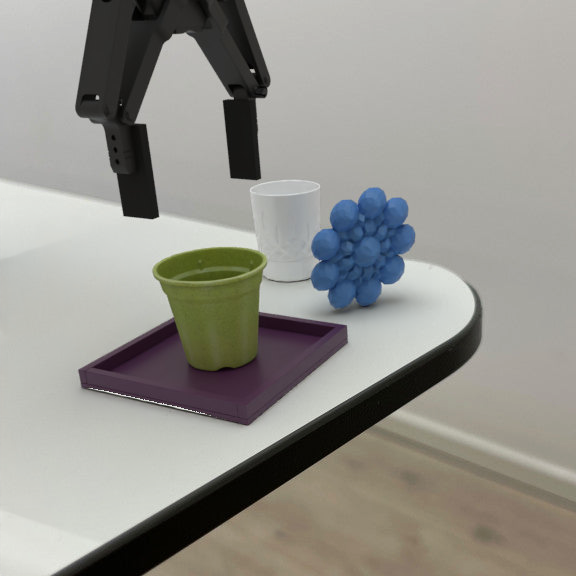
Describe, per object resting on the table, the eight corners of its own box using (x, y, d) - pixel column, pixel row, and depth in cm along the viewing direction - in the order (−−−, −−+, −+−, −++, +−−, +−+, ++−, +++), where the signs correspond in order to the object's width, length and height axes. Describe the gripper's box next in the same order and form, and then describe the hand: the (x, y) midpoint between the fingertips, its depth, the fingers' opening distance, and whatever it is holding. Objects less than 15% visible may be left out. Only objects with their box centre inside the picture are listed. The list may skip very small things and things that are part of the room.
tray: (81, 387, 64) (77, 369, 63) (201, 318, 77) (199, 302, 77) (248, 425, 57) (245, 405, 56) (348, 342, 70) (347, 325, 70)
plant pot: (232, 390, 61) (219, 287, 58) (144, 369, 66) (127, 272, 62) (296, 346, 69) (289, 253, 65) (213, 330, 73) (202, 241, 69)
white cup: (305, 287, 85) (298, 197, 80) (244, 279, 88) (235, 192, 84) (336, 266, 91) (332, 181, 87) (279, 259, 94) (272, 178, 90)
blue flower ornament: (395, 283, 85) (393, 174, 80) (426, 302, 79) (426, 185, 74) (297, 303, 80) (289, 188, 75) (323, 324, 75) (315, 201, 70)
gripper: (64, -147, 40) (128, 243, 49) (300, -103, 61) (315, 168, 70) (-34, -133, 43) (43, 232, 52) (222, -96, 64) (245, 163, 73)
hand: (198, 196), depth 61 cm, fingers open, 13 cm apart
